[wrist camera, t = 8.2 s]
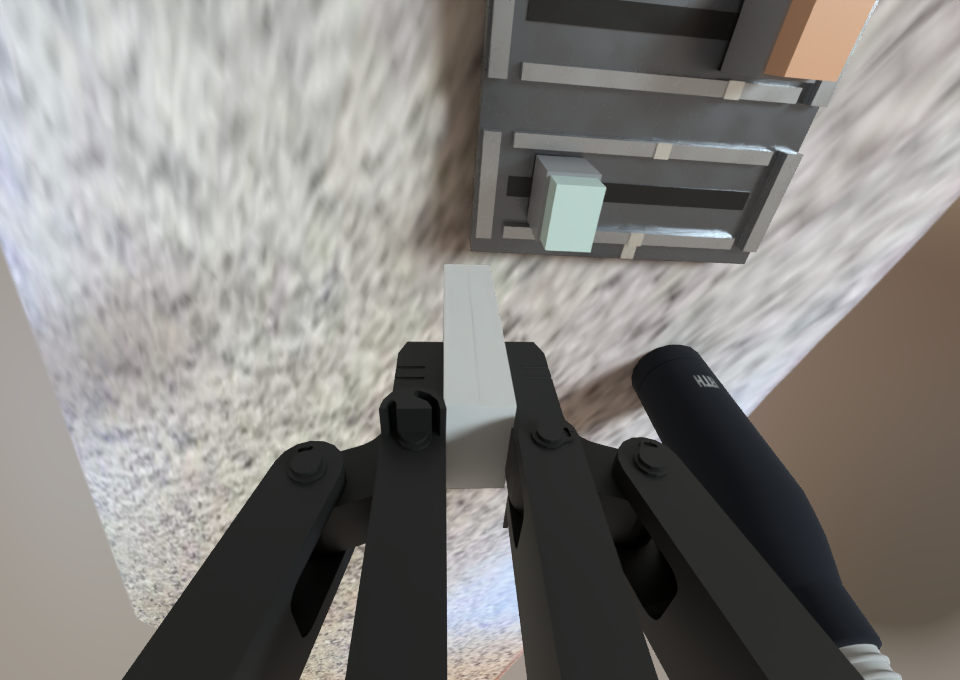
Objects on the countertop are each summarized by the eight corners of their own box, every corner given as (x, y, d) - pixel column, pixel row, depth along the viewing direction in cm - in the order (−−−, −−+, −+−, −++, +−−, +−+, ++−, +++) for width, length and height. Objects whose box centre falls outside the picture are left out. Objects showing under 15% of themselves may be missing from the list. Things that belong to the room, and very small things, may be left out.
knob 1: (536, 154, 26) (553, 180, 22) (584, 158, 26) (611, 183, 22) (526, 219, 28) (540, 253, 24) (571, 221, 29) (593, 255, 24)
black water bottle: (640, 405, 43) (895, 908, 18) (623, 361, 39) (910, 910, 15) (706, 381, 41) (1075, 890, 17) (694, 333, 38) (1139, 888, 14)
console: (494, -116, 21) (500, -133, 19) (872, -66, 23) (919, -76, 20) (469, 239, 31) (471, 256, 29) (729, 252, 33) (750, 269, 31)
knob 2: (752, -22, 22) (825, -33, 18) (807, -16, 22) (892, -25, 18) (720, 71, 24) (778, 81, 20) (770, 76, 24) (837, 87, 20)
